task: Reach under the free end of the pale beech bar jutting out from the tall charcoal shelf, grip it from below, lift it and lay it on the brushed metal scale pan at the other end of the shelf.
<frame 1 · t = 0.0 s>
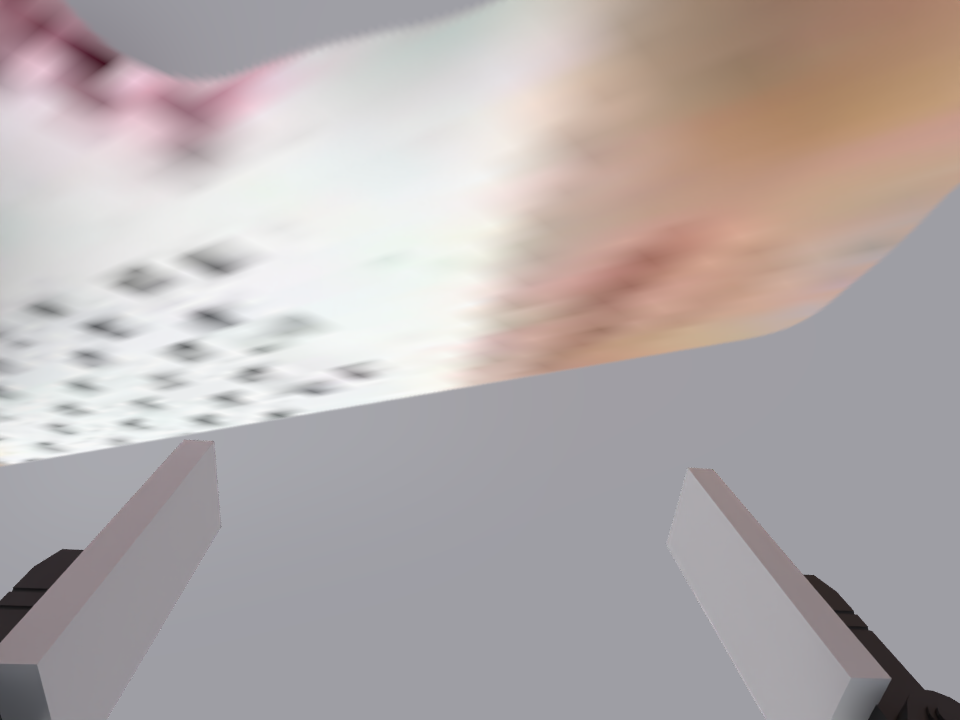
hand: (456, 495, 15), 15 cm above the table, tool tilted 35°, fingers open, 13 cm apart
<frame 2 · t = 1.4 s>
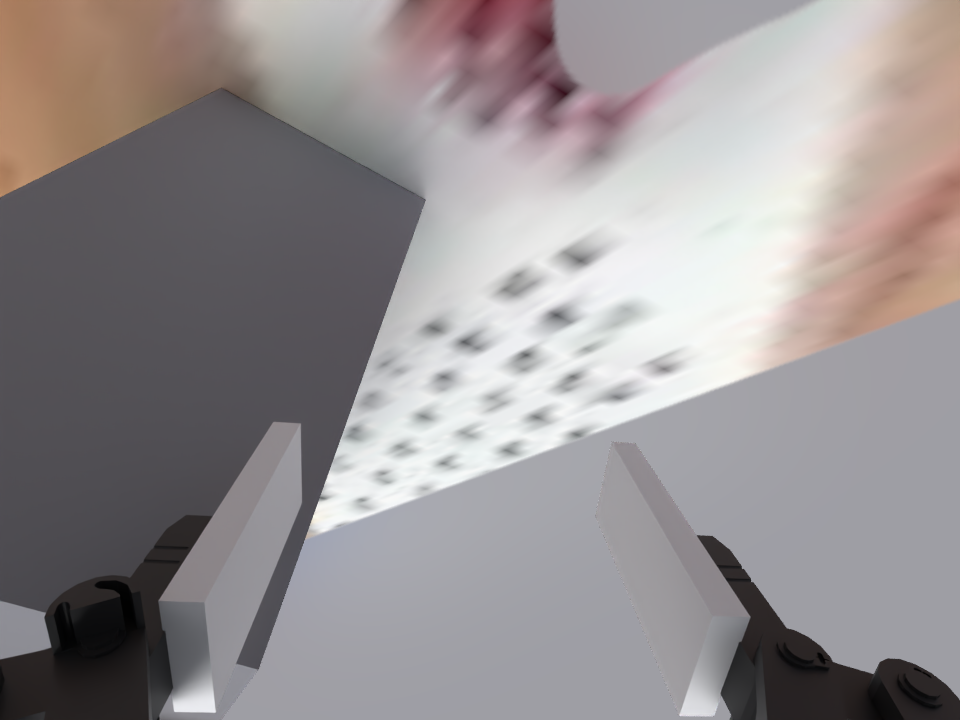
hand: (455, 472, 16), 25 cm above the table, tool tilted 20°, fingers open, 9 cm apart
scale shelf: (270, 304, 43), on the table
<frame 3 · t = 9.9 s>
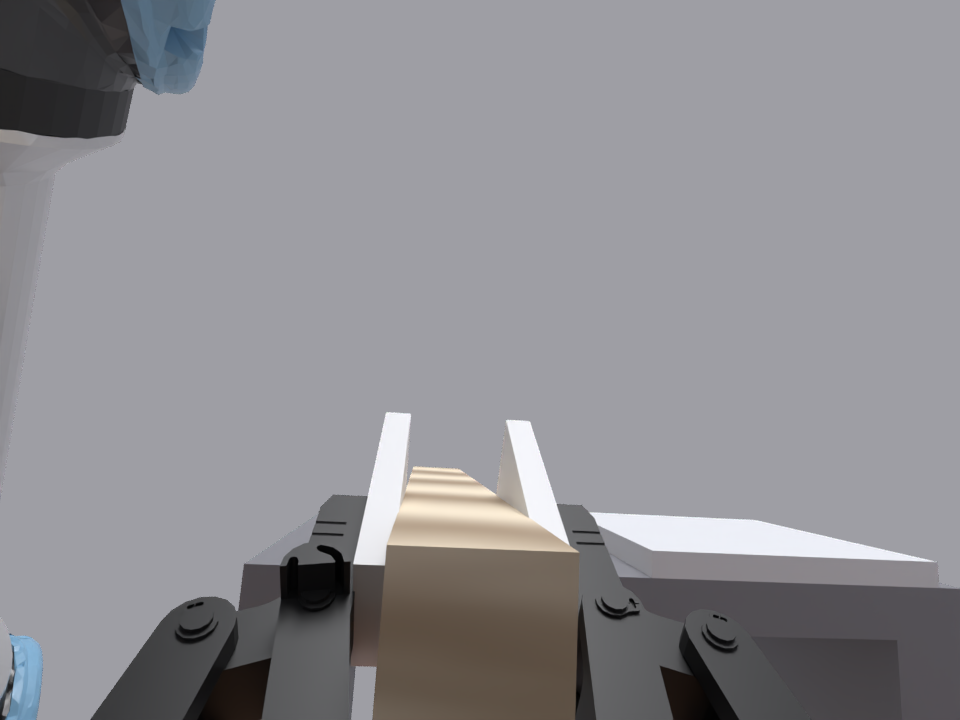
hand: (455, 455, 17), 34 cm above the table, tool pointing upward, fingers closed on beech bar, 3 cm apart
beech bar: (440, 559, 22), point 30 cm above the table, touching gripper
when the fingers open (36 cm above the table, at t = 14.8 s): beech bar stays where it is, resting on scale shelf.
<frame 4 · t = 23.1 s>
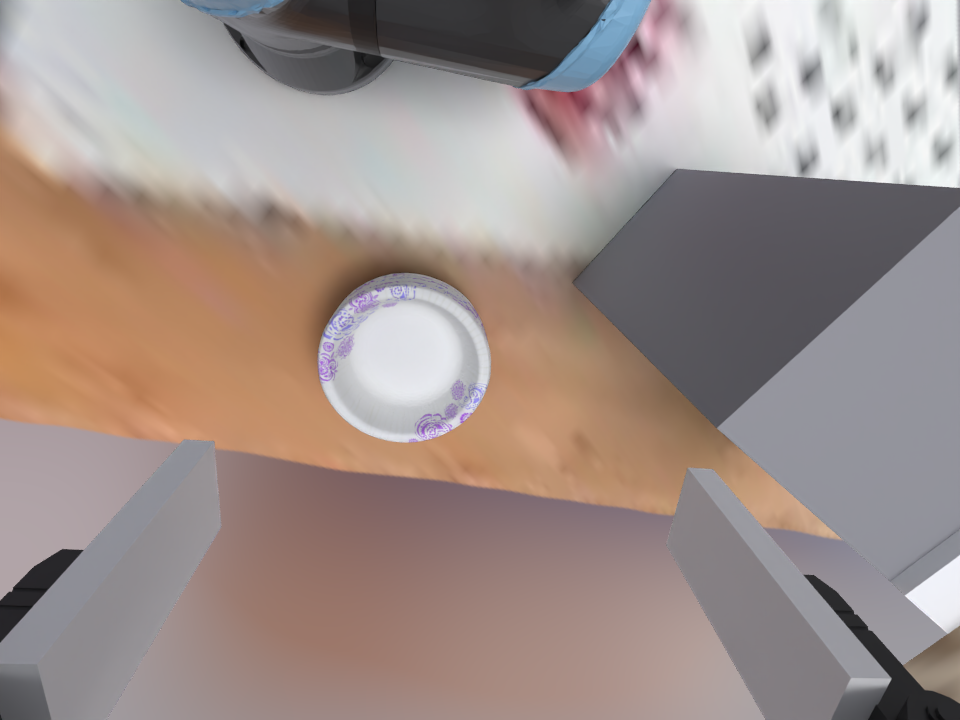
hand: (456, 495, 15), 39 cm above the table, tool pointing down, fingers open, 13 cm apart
scale shelf: (715, 317, 55), on the table
paper bowls: (410, 339, 54), on the table
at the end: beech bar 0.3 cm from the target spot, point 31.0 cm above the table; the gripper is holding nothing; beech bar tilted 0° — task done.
